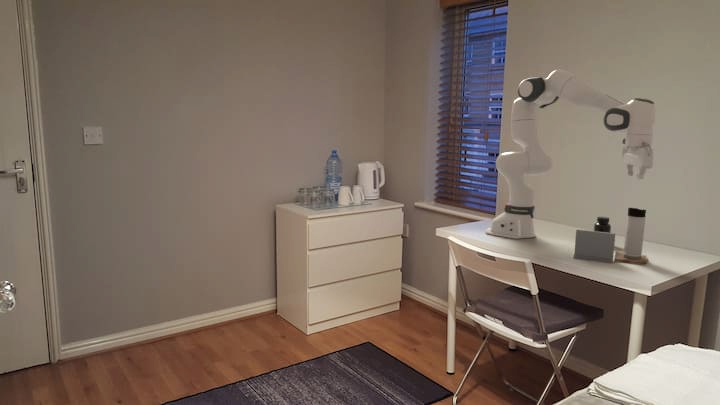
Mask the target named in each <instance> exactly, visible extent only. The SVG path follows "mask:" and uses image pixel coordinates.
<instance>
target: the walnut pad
mask: <svg viewBox="0 0 720 405" xmlns="http://www.w3.org/2000/svg"><path fill="white" fill-rule="evenodd" d="M623 255H624V252H617V251H616V252H615V255H614V258H613V262H617V263H627V264H634V265H640V266H641V265H642V266H647V255H643V254H641V259H629V258H626V257H624V256H623Z"/></svg>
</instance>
